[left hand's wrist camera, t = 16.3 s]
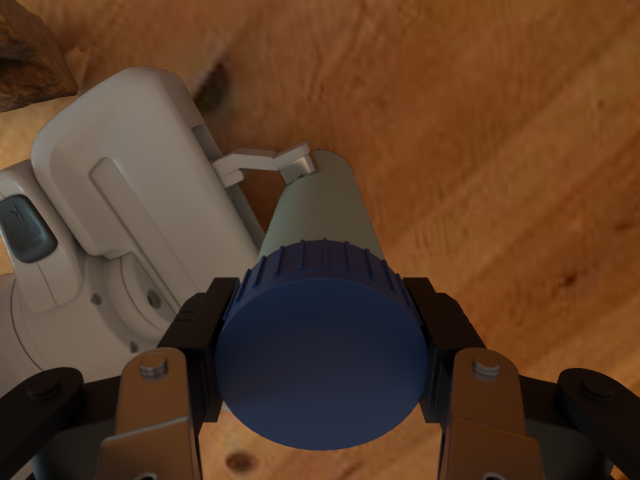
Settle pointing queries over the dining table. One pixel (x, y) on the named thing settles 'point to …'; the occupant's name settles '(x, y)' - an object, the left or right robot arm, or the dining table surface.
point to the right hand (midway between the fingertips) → (335, 205)
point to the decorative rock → (29, 60)
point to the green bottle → (322, 209)
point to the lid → (321, 347)
